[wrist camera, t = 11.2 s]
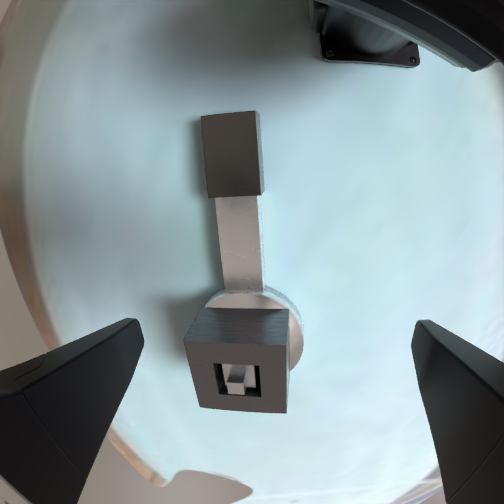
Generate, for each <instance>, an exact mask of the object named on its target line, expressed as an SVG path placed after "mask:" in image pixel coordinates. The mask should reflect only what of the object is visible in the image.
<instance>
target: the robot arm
mask: <svg viewBox="0 0 504 504" xmlns="http://www.w3.org/2000/svg"><path fill="white" fill-rule="evenodd" d="M307 2H308V9H309V16H310V24H311V30H312V31H313V32H314V33H318V34H319V42H320V50H321V56H322V58H323V59H324V60H325V61H327V62H351V63H369V64H382V65H393V66H402V67H410V68H415V67H416V66H418V65H419V64H420V58H419V51H418V45H420V46H422V47H424V48H425V49H427V50H429V51H431V52H432V53H434V54H436V55H437V56H439V57H441V58H442V59H444V60H446V61H447V62H449V63H450V64H452V65H454V66H457V67H461V68H465V67H466V68H467V69H469V70H470V71H472V72H475V71H479V70H482V69H485V68H487V67H489V66H491V65H492V64H494V63H495V62H500V63H501V64H503V65H504V0H307ZM417 44H418V45H417ZM327 51H330V52H332V53H333V56H332V57H328V56H327V55H326V52H327ZM410 57H411V58H413V59H414V61H415V62H414V63H412V62H411V61H410V59H409V58H410ZM143 346H144V337H143V334H142V330H141V327H140V323H139V321H138V320H137V319H134V318H125V319H123V320H121V321H118V322H116V323H114V324H111V325H109V326H107V327H105V328H102V329H100V330H98V331H96V332H93V333H91V334H89V335H86V336H84V337H82V338H80V339H77V340H75V341H73V342H70V343H68V344H66V345H64V346H61V347H59V348H57V349H54V350H52V351H50V352H47V353H46V354H43V355H40V356H38V357H36V358H33V359H31V360H29V361H26V362H23V363H21V364H18V365H16V366H13V367H10V368H7V369H4V370H2V371H0V504H77V502H78V500H79V497H80V495H81V492H82V490H83V487H84V485H85V483H86V479H87V477H88V475H89V473H90V470H91V468H92V466H93V463H94V461H95V459H96V456H97V454H98V452H99V449H100V447H101V445H102V443H103V440H104V438H105V436H106V434H107V431H108V429H109V427H110V425H111V423H112V420H113V418H114V416H115V414H116V412H117V410H118V407H119V405H120V403H121V401H122V399H123V397H124V395H125V393H126V390H127V388H128V386H129V384H130V382H131V379H132V377H133V374H134V371H135V369H136V366H137V363H138V360H139V357H140V355H141V352H142V349H143ZM411 349H412V354H413V359H414V364H415V369H416V375H417V380H418V385H419V390H420V393H421V397H422V400H423V404H424V407H425V411H426V414H427V418H428V422H429V425H430V429H431V433H432V437H433V441H434V445H435V450H436V454H437V458H438V463H439V468H440V473H441V478H442V483H443V488H444V494H445V500H446V504H504V363H503V362H501V361H500V360H498V359H496V358H495V357H493V356H491V355H490V354H488V353H486V352H484V351H483V350H481V349H479V348H478V347H476V346H474V345H472V344H471V343H469V342H467V341H466V340H464V339H462V338H460V337H459V336H457V335H455V334H454V333H452V332H450V331H448V330H447V329H445V328H443V327H441V326H440V325H438V324H436V323H434V322H433V321H431V320H418V321H417V323H416V325H415V329H414V334H413V338H412V342H411Z"/></svg>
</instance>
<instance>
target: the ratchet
mask: <svg viewBox="0 0 504 504" xmlns="http://www.w3.org/2000/svg"><path fill="white" fill-rule="evenodd" d="M201 122H202V134H203V146H204V158H205V169H206V180H207V190H208V198H215V204H216V214H217V224H218V234H219V243H220V252H221V261H222V270H223V279H224V287H225V288H224V289H222V290H220V291H218V292H217V293H215V294H214V295H213V296H212V297H211V298H210V299H209V300H208V302H207V303H206V305H205V306H204V307H212V308H259V309H289V324H290V371H291V370H292V369H293V368H294V367H295V366H296V364H297V363H298V361H299V359H300V357H301V355H302V351H303V338H304V330H303V322H302V318H301V315H300V313H299V311H298V310H297V308H296V307H295V305H294V304H293V303H292V302H291V301H290V300H289V299H288V298H287V297H286V296H284V295H283V294H282V293H280V292H278V291H276V290H274V289H272V288H270V287H267V286H265V267H264V251H263V235H262V219H261V203H260V195H262V193H263V192H264V178H263V162H262V148H261V133H260V120H259V113H258V112H256V111H245V112H234V113H225V114H216V115H208V116H201ZM222 368H223V374H224V379H225V385H226V386H227V388H228V394H241V395H245V391H246V387H256V384H257V379H258V374H259V366H256V365H235V364H222Z"/></svg>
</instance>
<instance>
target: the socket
mask: <svg viewBox="0 0 504 504" xmlns="http://www.w3.org/2000/svg"><path fill="white" fill-rule="evenodd" d="M183 341H184V345H185V349H186V354H187V358H188V362H189V366H190V370H191V375H192V379H193V382H194V386H195V390H196V394H197V398H198V402H199V405H200V407H203V408H211V409H221V410H232V411H245V412H261V413H287V402H288V389H289V376H290V324H289V309H259V308H212V307H202V308H201V310H200V312H199V313H198V315H197V317H196V319H195V321H194V322H193V324H192V326H191V328H190V330H189V331H188V333H187V335H186V337H185V339H184V340H183ZM222 364H235V365H256V366H259V374H258V379H257V384H256V387H246V391H245V395H241V394H228V388H227V386H226V385H225V379H224V374H223V368H222Z"/></svg>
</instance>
